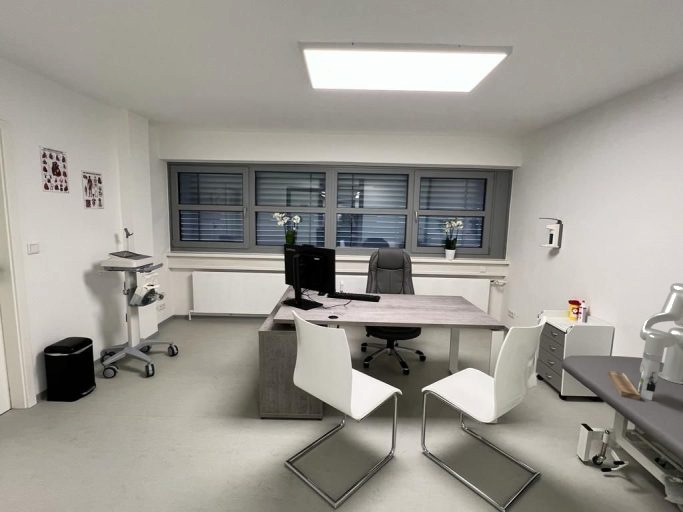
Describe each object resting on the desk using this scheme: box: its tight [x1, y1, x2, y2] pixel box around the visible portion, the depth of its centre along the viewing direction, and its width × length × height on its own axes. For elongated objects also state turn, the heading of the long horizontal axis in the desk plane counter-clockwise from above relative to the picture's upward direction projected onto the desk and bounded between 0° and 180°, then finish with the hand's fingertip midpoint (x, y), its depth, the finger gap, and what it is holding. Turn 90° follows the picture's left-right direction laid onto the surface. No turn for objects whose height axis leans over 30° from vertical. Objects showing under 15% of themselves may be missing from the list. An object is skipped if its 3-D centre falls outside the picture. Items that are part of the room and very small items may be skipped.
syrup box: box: [637, 372, 654, 401], centre depth 180 cm, size 6×6×14 cm
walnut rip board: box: [607, 370, 642, 402], centre depth 190 cm, size 8×26×3 cm, turn 154°
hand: (646, 386), depth 180 cm, fingers open, 9 cm apart
